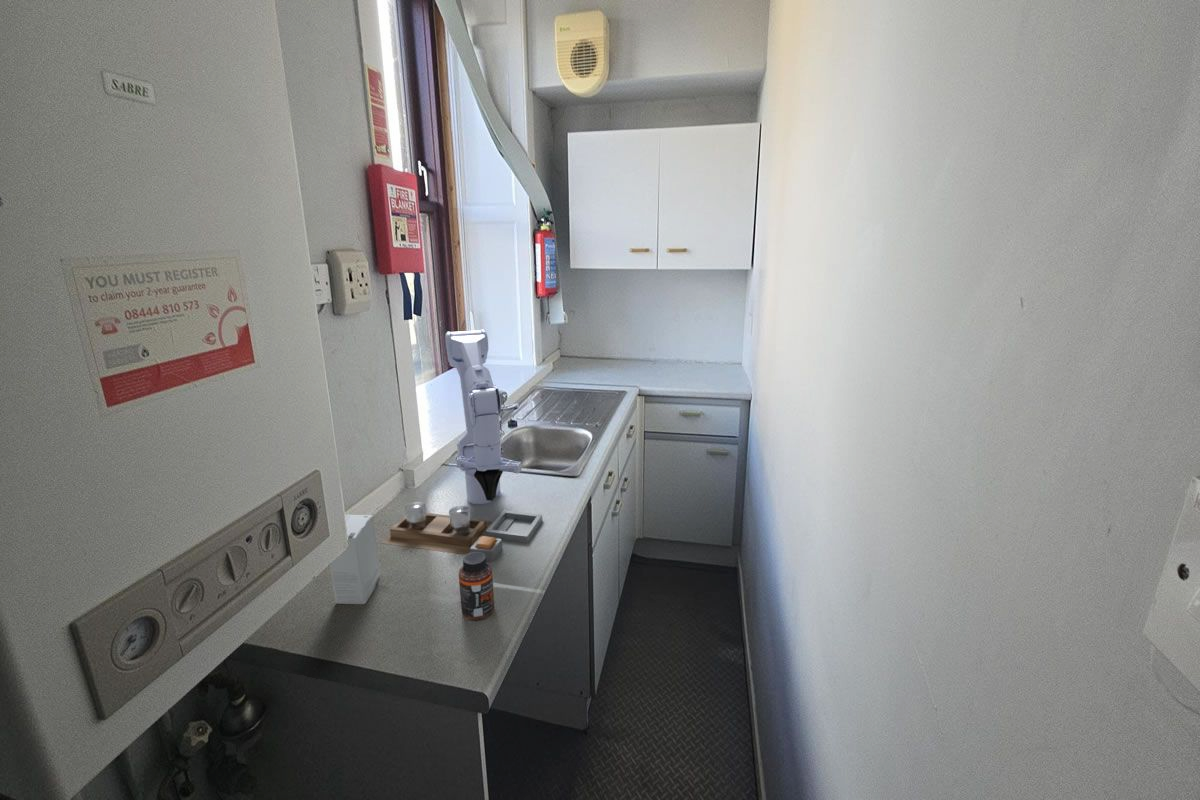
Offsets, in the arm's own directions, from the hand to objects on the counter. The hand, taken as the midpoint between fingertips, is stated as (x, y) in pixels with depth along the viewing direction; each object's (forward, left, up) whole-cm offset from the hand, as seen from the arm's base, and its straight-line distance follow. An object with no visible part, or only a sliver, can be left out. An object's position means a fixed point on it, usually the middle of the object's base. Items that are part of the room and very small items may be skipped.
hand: (491, 498), depth 123 cm
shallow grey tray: (-3, +4, -9) cm, 11 cm away
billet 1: (+3, -18, -8) cm, 20 cm away
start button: (+8, +2, -9) cm, 12 cm away
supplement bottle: (+25, +8, -10) cm, 28 cm away
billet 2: (+3, -7, -8) cm, 11 cm away
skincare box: (+25, -17, -10) cm, 32 cm away
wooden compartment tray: (+3, -12, -9) cm, 16 cm away
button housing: (+8, +2, -9) cm, 13 cm away
